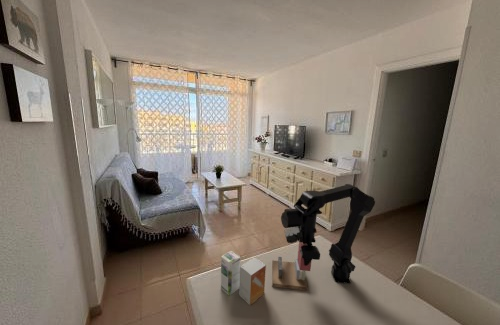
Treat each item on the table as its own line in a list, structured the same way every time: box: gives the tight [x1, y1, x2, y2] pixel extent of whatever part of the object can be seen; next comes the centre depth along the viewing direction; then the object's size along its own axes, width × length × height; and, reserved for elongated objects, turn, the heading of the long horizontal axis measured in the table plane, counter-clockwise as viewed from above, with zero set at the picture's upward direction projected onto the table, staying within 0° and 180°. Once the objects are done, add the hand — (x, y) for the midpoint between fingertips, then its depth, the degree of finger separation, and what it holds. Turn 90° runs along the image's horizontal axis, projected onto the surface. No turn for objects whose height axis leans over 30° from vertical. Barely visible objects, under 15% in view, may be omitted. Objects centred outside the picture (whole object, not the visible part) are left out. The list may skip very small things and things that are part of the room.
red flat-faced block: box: [296, 241, 312, 272], centre depth 81 cm, size 4×6×9 cm, turn 176°
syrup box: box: [220, 250, 241, 297], centre depth 81 cm, size 6×6×14 cm
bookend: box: [277, 256, 283, 279], centre depth 89 cm, size 2×8×4 cm, turn 174°
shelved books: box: [294, 258, 306, 280], centre depth 88 cm, size 3×7×4 cm, turn 174°
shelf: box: [271, 259, 308, 291], centre depth 89 cm, size 14×14×2 cm
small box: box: [238, 257, 267, 306], centre depth 78 cm, size 8×6×13 cm
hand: (304, 259), depth 81 cm, fingers closed on red flat-faced block, 6 cm apart
